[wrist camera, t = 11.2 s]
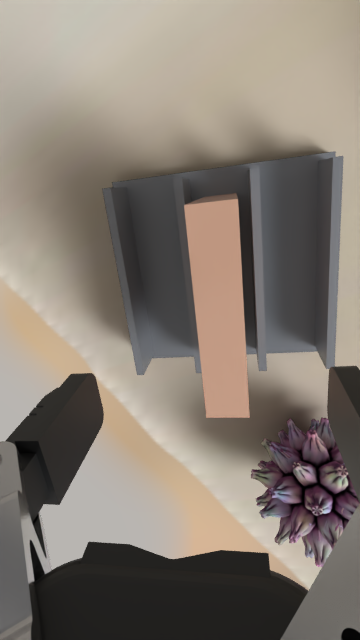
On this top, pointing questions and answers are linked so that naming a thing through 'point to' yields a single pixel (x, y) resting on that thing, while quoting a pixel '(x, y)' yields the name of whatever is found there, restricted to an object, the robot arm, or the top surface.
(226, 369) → the tall peach block
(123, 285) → the rack
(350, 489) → the flower
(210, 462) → the top surface
